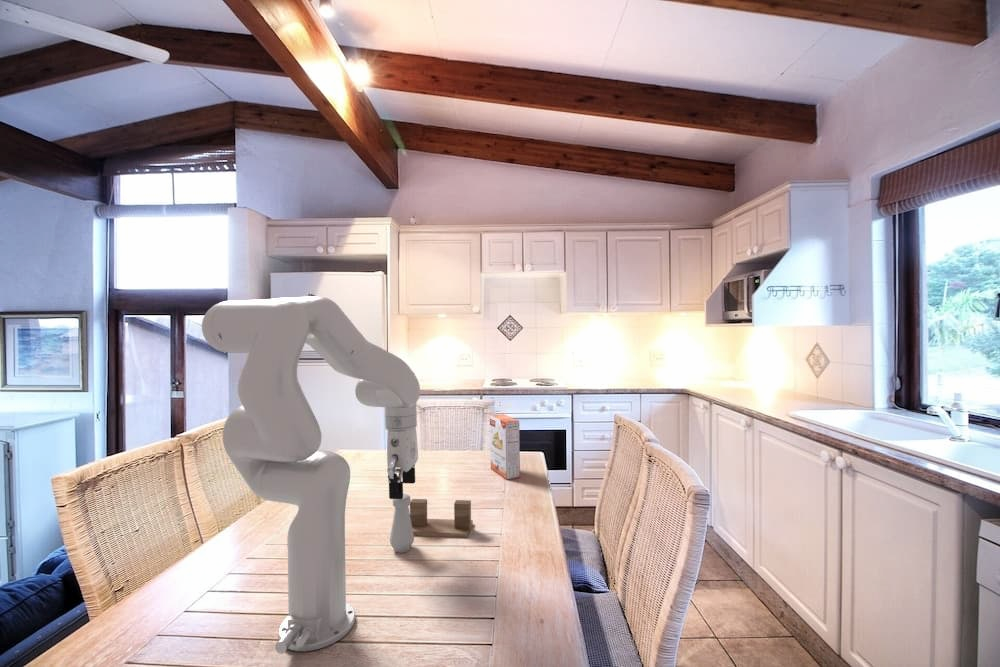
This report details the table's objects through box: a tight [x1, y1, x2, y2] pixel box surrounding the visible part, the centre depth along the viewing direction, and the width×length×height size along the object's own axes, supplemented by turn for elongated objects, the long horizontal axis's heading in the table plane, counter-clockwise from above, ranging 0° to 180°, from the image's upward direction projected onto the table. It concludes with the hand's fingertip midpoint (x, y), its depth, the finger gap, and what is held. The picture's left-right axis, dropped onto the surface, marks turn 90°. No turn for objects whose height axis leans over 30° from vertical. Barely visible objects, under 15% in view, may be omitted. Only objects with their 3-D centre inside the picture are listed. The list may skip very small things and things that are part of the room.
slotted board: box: [409, 498, 474, 538], centre depth 118 cm, size 8×16×8 cm, turn 84°
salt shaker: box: [389, 493, 415, 554], centre depth 107 cm, size 6×6×13 cm
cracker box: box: [489, 413, 521, 481], centre depth 163 cm, size 14×6×21 cm, turn 25°
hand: (402, 490), depth 108 cm, fingers open, 9 cm apart
